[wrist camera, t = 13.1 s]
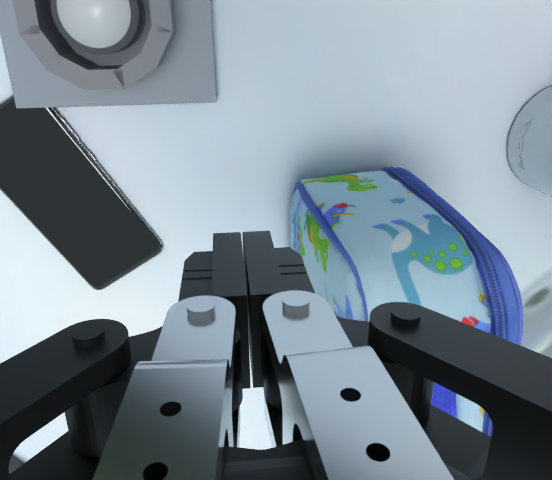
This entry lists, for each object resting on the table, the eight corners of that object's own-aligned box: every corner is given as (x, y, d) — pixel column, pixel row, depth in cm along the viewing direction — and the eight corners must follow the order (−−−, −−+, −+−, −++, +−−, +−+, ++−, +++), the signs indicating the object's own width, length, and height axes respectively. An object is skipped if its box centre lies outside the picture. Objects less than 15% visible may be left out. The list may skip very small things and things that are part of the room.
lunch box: (400, 394, 52) (514, 608, 33) (299, 411, 51) (356, 641, 32) (403, 150, 41) (574, 253, 22) (276, 166, 40) (340, 287, 21)
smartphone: (96, 294, 42) (-51, 137, 36) (99, 288, 43) (-44, 134, 36) (167, 249, 41) (30, 81, 35) (168, 244, 42) (35, 79, 36)
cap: (140, -31, 32) (131, -39, 29) (149, 51, 34) (142, 54, 31) (61, -30, 32) (41, -38, 28) (75, 53, 34) (58, 56, 30)
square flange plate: (205, -86, 33) (204, -107, 28) (216, 99, 38) (217, 110, 33) (-17, -89, 31) (-60, -112, 26) (23, 105, 36) (-6, 117, 31)
